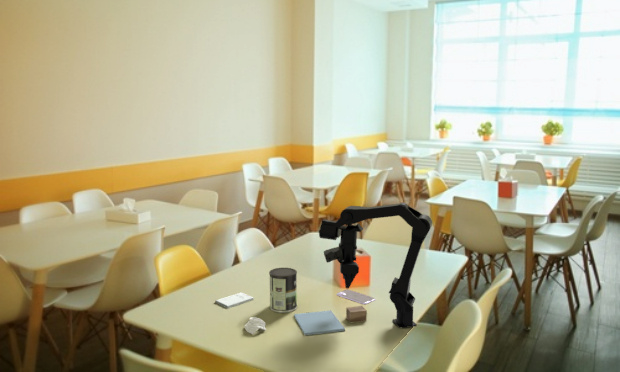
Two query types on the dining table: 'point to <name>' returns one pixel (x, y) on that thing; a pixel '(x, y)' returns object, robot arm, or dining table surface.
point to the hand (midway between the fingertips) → (345, 283)
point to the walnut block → (356, 314)
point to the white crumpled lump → (254, 325)
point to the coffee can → (283, 290)
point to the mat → (318, 322)
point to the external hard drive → (234, 300)
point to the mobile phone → (355, 296)
